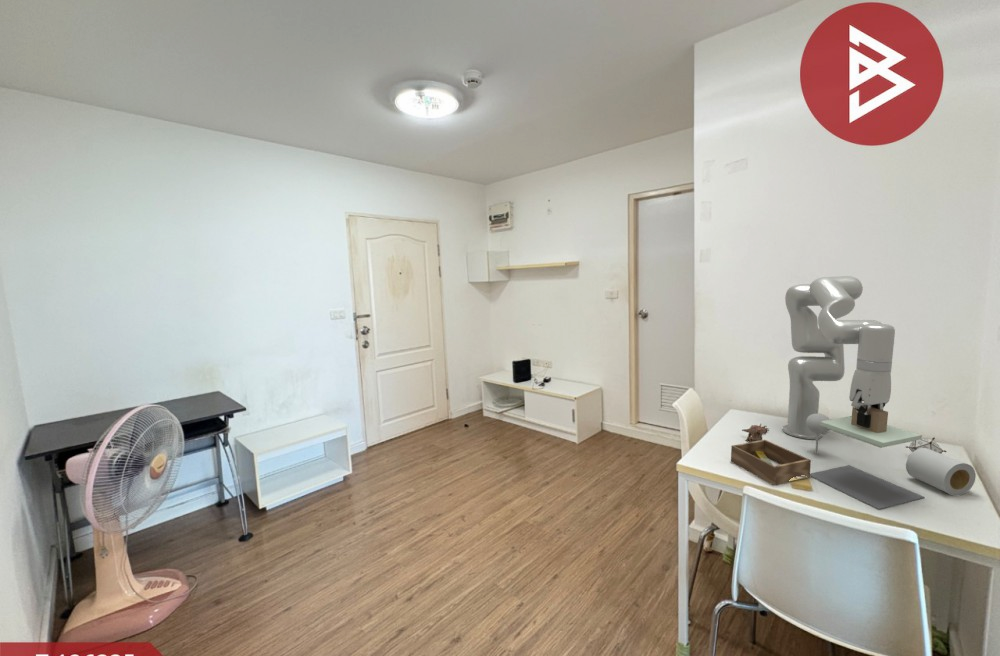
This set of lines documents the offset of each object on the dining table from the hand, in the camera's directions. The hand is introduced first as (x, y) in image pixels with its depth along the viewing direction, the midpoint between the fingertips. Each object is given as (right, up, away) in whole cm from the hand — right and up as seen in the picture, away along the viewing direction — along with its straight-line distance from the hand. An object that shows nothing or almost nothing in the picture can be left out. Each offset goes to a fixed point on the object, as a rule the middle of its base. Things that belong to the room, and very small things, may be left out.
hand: (868, 424), depth 119 cm
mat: (+1, -20, +3) cm, 20 cm away
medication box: (-21, -19, +16) cm, 33 cm away
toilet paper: (+22, -19, +1) cm, 29 cm away
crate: (-20, -19, +15) cm, 31 cm away
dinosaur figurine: (-12, -16, +35) cm, 40 cm away
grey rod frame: (+34, -16, +17) cm, 42 cm away
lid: (0, -2, 0) cm, 2 cm away
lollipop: (+4, -17, +24) cm, 30 cm away
